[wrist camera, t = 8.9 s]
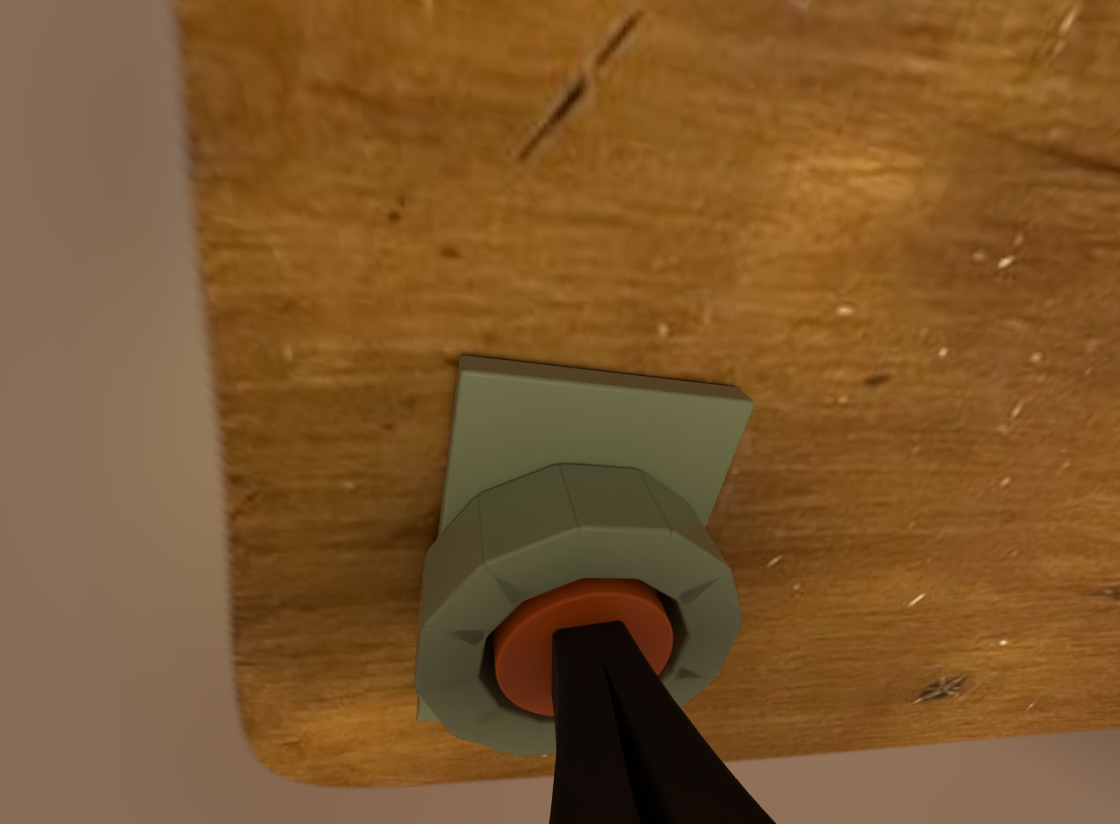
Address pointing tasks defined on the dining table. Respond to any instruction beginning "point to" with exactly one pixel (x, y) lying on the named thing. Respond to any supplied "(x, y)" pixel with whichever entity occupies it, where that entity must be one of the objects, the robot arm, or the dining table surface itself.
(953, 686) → the dining table surface
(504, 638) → the button
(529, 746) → the control block
